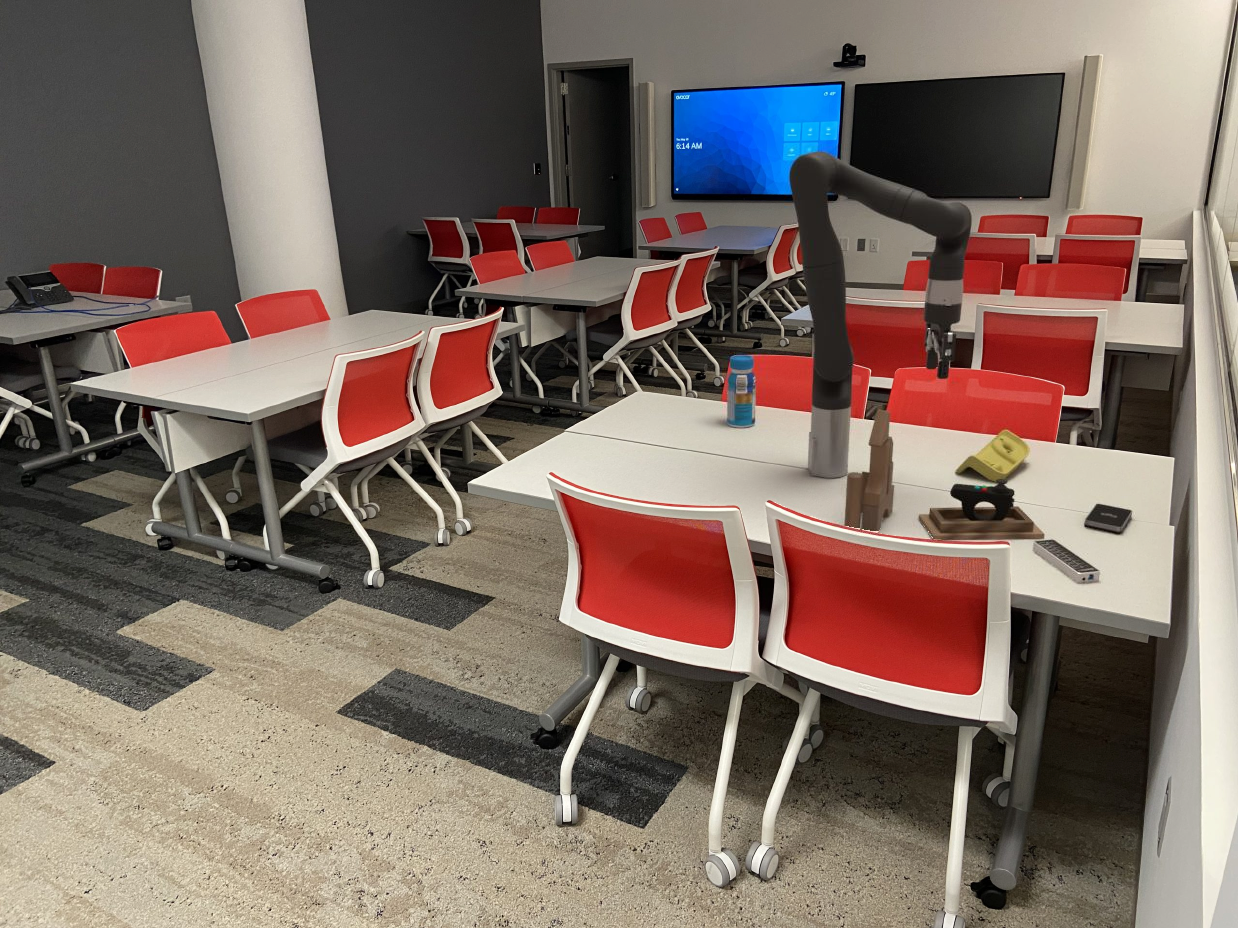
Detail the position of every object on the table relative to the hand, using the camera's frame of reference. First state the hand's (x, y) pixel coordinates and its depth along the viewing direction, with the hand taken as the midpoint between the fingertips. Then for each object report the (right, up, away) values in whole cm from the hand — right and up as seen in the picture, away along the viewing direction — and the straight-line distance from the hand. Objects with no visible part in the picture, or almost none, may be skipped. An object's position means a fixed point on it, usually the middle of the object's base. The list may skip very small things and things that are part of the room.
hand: (936, 373), depth 194 cm
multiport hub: (+14, -40, -27) cm, 50 cm away
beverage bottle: (-34, -9, +63) cm, 73 cm away
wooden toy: (-17, -33, -5) cm, 37 cm away
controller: (+5, -33, -11) cm, 35 cm away
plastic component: (+22, -22, +22) cm, 38 cm away
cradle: (+5, -33, -10) cm, 35 cm away
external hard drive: (+32, -33, -10) cm, 47 cm away
